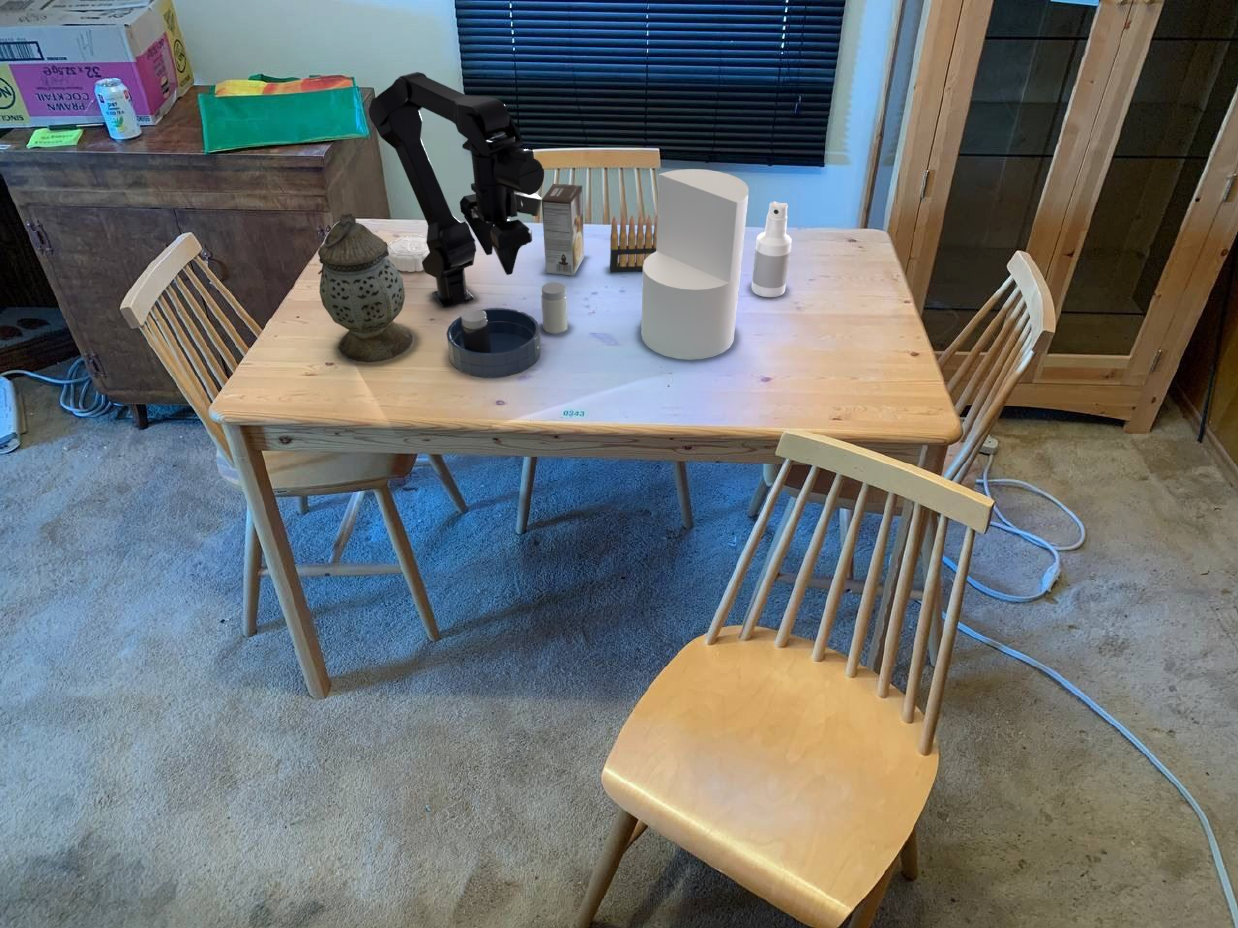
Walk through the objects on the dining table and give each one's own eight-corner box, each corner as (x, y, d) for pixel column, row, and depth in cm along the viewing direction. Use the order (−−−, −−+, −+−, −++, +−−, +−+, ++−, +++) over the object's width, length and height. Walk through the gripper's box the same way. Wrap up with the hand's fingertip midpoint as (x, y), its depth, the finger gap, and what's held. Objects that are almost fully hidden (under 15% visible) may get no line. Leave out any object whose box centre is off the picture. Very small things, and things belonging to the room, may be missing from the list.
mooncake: (376, 268, 179) (373, 252, 177) (403, 245, 188) (401, 229, 186) (427, 275, 177) (425, 260, 174) (453, 252, 186) (451, 236, 183)
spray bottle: (747, 294, 171) (756, 208, 159) (755, 280, 176) (765, 195, 164) (780, 300, 169) (792, 213, 157) (788, 285, 174) (800, 200, 162)
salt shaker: (539, 326, 161) (536, 285, 155) (560, 320, 162) (559, 280, 157) (549, 337, 157) (547, 296, 152) (571, 331, 159) (570, 290, 154)
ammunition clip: (659, 267, 180) (661, 212, 173) (660, 271, 179) (662, 216, 171) (609, 268, 179) (609, 214, 172) (610, 272, 178) (610, 218, 170)
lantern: (390, 370, 148) (363, 235, 133) (319, 358, 152) (284, 224, 136) (427, 331, 159) (406, 202, 143) (360, 320, 162) (332, 192, 146)
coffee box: (556, 254, 185) (552, 182, 174) (584, 257, 184) (583, 184, 173) (545, 273, 178) (540, 199, 167) (574, 276, 177) (572, 201, 166)
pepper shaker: (462, 354, 152) (456, 312, 147) (485, 348, 154) (481, 306, 148) (471, 366, 149) (466, 324, 143) (495, 360, 151) (491, 317, 145)
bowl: (437, 345, 155) (433, 321, 152) (518, 324, 161) (516, 300, 158) (470, 389, 144) (467, 364, 141) (555, 364, 150) (554, 339, 147)
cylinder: (684, 303, 168) (692, 161, 150) (753, 335, 158) (770, 188, 141) (622, 334, 158) (623, 187, 141) (691, 370, 149) (701, 217, 131)
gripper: (557, 189, 141) (561, 274, 151) (512, 155, 154) (518, 236, 164) (495, 201, 137) (503, 289, 147) (454, 165, 149) (464, 248, 159)
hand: (499, 264), depth 154 cm, fingers open, 9 cm apart
